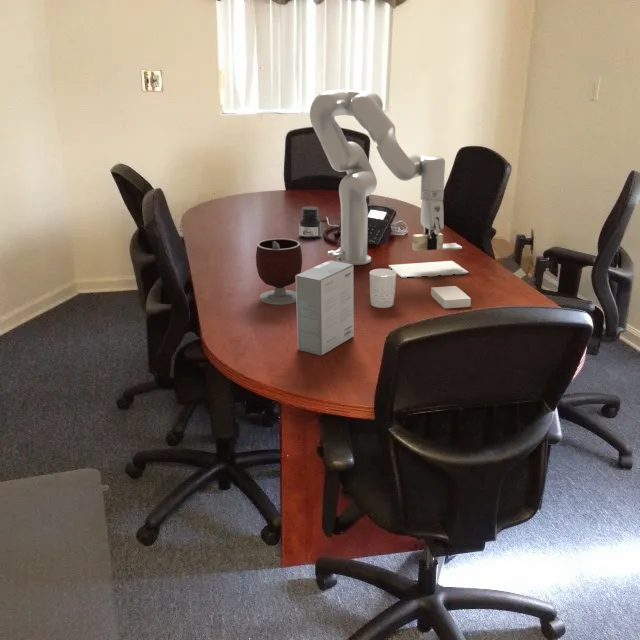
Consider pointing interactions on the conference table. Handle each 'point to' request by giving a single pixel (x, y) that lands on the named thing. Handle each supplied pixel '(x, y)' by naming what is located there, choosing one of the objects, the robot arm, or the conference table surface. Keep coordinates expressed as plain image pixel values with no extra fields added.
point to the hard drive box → (325, 306)
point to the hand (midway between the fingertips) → (429, 247)
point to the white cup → (382, 287)
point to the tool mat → (427, 269)
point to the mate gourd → (278, 268)
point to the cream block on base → (422, 240)
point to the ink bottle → (310, 223)
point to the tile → (450, 297)
